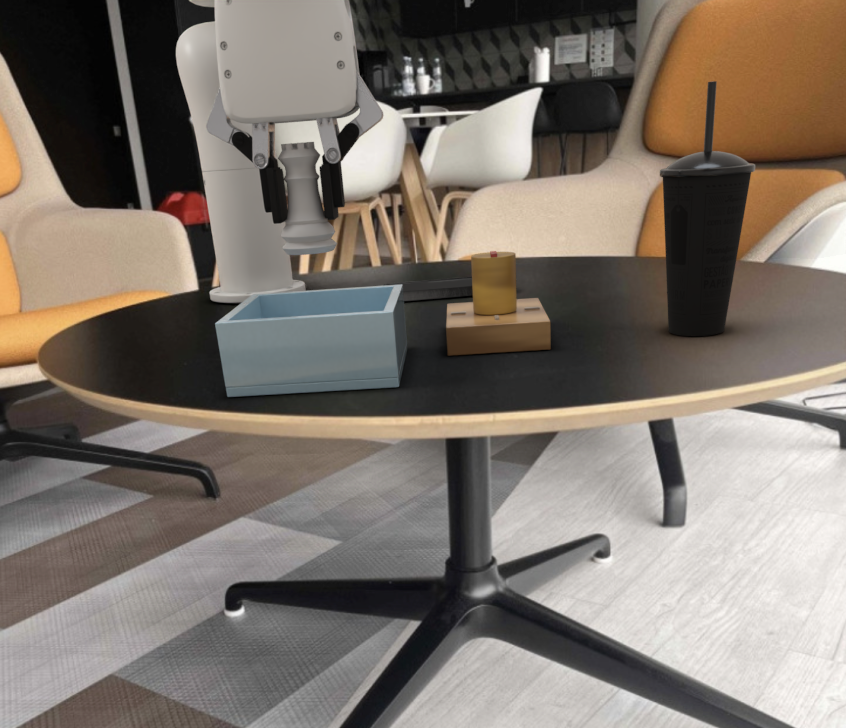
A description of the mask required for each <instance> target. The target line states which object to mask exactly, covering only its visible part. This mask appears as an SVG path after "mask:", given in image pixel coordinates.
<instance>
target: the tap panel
mask: <svg viewBox="0 0 846 728" xmlns="http://www.w3.org/2000/svg"><path fill="white" fill-rule="evenodd" d="M551 329H552V328H551V319H550V318H549V316H548V314H547V312H546V310H545V308H544V306H543V304H542V303H541V300H540V299H539V297H531V298H530V297H528V298H517V310H516V311H514V312H512V313H507V314H500V315H480V314H476V313H474V312H473V301H468V302H454V303H453V302H452V303H447V304H446V321H445V333H446V334H445V335H446V350H447V351H446V352H447V356H448V357H449V356H450V357H453V356H466V355H467V356H468V355H483V354H484V355H485V354H501V353H502V354H503V353H514V352H515V353H517V352H533V351H534V352H535V351H536V352H537V351H549V350H551V349H552V347H551V341H552V340H551V339H552V337H551V336H552V334H551V332H552V331H551Z"/></svg>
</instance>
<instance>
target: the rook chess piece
mask: <svg viewBox="0 0 846 728" xmlns="http://www.w3.org/2000/svg"><path fill="white" fill-rule="evenodd" d="M280 147H281V151H280V153H279V156H277V160H278V161H279V162H280V163H281V165H282V166H283V167H284V170H285V176H284V183H285V184H286V190H287V208H288V213H287V219H286V220H285V223H286V225H285V227H284V228H283V230H282V233H281V237H282V238H283V239H284V240H285V241H286V243H285V245H284V246H283V247H282V249H283V250H284V251H285V252H286V254H288V255H290V256H306V255H317V254H324V253H330V252H333V251H335V249H336V247H337V245H338V242H337V241H335V240H334V239H333V236H334V235H335V233H336V230H335V227H334V226H333V224H331V222H329V220H328V219H327V218H325V214H324V206H323V201H322V198H321V194H320V190H319V179H320V174H318V172H317V163H318V161H319V159H320V157H321V154H320V153H319V151H318V150H317V149H316V148H315V147H316V146H315V141H305V142H304V141H303V142H293V143H292V142H290V143H280Z"/></svg>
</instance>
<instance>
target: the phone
mask: <svg viewBox="0 0 846 728" xmlns="http://www.w3.org/2000/svg"><path fill="white" fill-rule="evenodd" d="M401 284H402V285H403V294H404V302H411V301H421V300H422V301H423V300H433V299H434V300H435V299H446V298H447V299H448V298H461V297H471V296H472V297H473V290H472V276H462V277H449V278H437V279H436V278H435V279H425V280H413V281H399V282H389V283H384V284H383V285H382V286H386V285H401Z"/></svg>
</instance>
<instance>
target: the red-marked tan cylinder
mask: <svg viewBox="0 0 846 728" xmlns="http://www.w3.org/2000/svg"><path fill="white" fill-rule="evenodd" d="M516 259H517V255H516V253H515V252H513V251H497V250H491V251H489V252H488V251H487V252H480V253H475V254H472V255H471V256H470V263H471V265H470V266H471V277H472V290H473V295H472V302H473V312H474V313H476V314H480V315H500V314H507V313H512V312H514V311H516V310H517V299H518V298H517V297H518V295H517V260H516Z"/></svg>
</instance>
